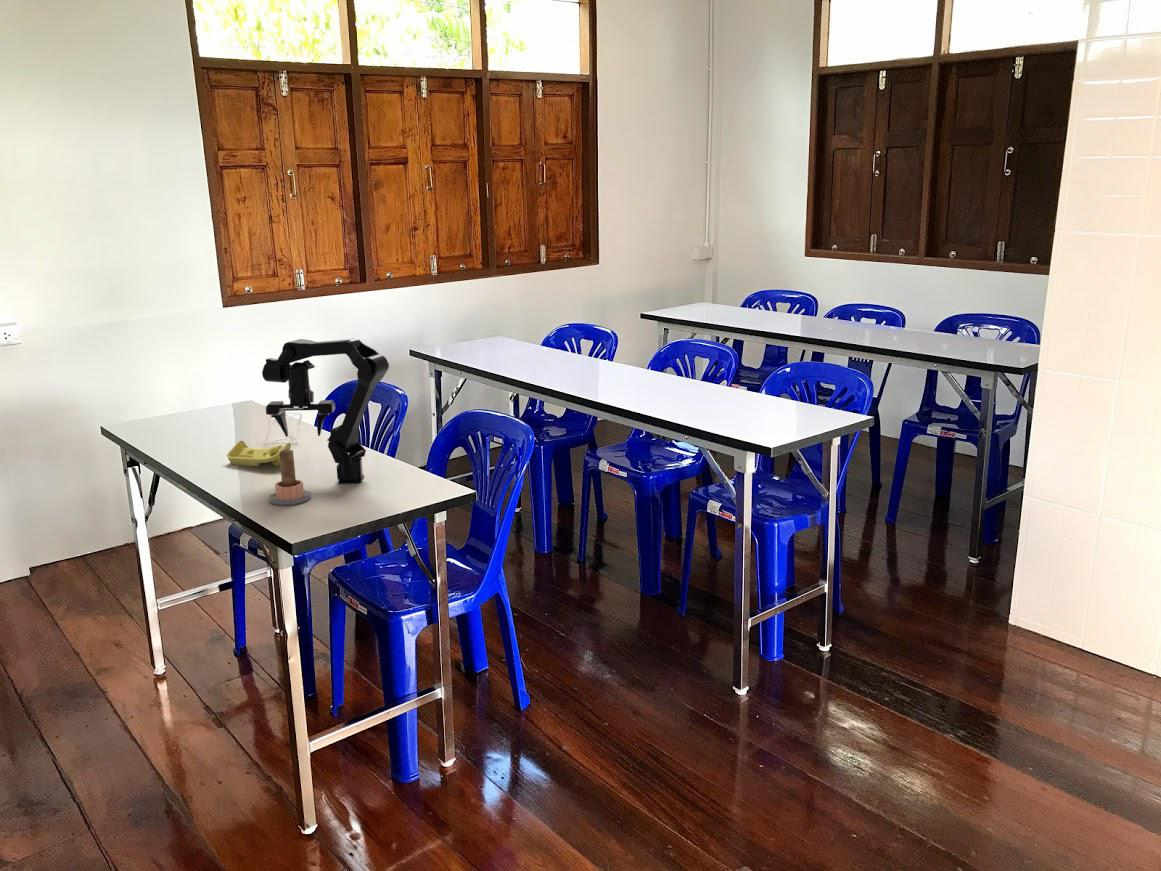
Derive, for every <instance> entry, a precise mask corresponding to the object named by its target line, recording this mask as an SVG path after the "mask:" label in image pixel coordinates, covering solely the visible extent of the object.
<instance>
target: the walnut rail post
mask: <svg viewBox="0 0 1161 871" xmlns="http://www.w3.org/2000/svg"><path fill="white" fill-rule="evenodd" d="M279 455H280V465H279V466H280V476H281V481H282V487H291V486H296V480H297V479H296V469H295V468H296V467H295V458H294V456H295V455H294V450H293V449H290V450H282V451H280V452H279Z"/></svg>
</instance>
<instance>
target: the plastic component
mask: <svg viewBox="0 0 1161 871" xmlns="http://www.w3.org/2000/svg"><path fill="white" fill-rule="evenodd" d="M286 443H287V444H284V445H282V444H281V445H280V444H279V445H274V446H271V447H269V448H255V447H253V448H251V447H248V445H247V444H246V443H245V442H244V440H238V441H237V442H236V443H235V445H233V447H232V448H231V449H230V450H229V451H228V452H227V454H226V457H227V459H228V461H229V462H230V464H231V465H233V466H246V467H248V466H249V467H258V466H260V465H261V464H264V463H272V465H273V466H274V467H279V466H280V455H279V452H280V451H282V450H291V446H292V444H291V442H286Z"/></svg>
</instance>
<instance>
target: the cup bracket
mask: <svg viewBox="0 0 1161 871" xmlns="http://www.w3.org/2000/svg"><path fill="white" fill-rule="evenodd" d="M274 490H275V491H274V492H273V493H272V494H269V497H268V502H269V503H270V504H271V505H274V506H278V507H279V506H282V507H287V506H297V505H301V504H302V505H303V504H304V503H308V502H309V501H310V500H311V499H312V493H311V492H310V491H308V490H306V489H304V481H302V480H300V479H296V486H291V487H282V480H280V481H277V482H276V483H275V484H274Z"/></svg>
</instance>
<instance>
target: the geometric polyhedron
mask: <svg viewBox="0 0 1161 871" xmlns="http://www.w3.org/2000/svg"><path fill="white" fill-rule="evenodd" d="M285 415H289V416H285V417H286V419H287V418H291V417H296V416H299V418H298V420H297V422H296V426H295V428H294V430H293V432H292V434H291V433H290V432H289V431H288V437H286V436H285V437H283V438H277V439H274V440H271V441H268V439H269V436H270V433H271V431H272V428H273V426H274V424H275V423H276V424H277V425H278V426H279V427H280V428H281V426H280V425H279V423H278V422H277V421H276V419H275V418H274V417H271V415H269V420H268V423H267V424H268V426H267V431H266V436H265V441H264V443H265V444H270V443H272V444H273V445H274V444H277V445H278V444H279V445H280V444H281V445H282V444H283V445H286V444H287V443H288V442H275V441H280V440H283V439H288V438H290V439H291V440H292V442H294V443H291V442H290V443H291V445H297V444H298V440H299V439H298V438H299V433H300V428H301V427H300V426H301V421H302V416H303V414H302V413H300V412H298V413H297V412H285ZM271 418H272V419H273V422H272V425H271V427H270V423H271ZM298 424H299V425H298ZM297 427H298V430H297V437H296V440H295V438H294V437H293V436H294V434H295V433H296V432H295V431H296V429H297ZM269 428H270V430H269Z"/></svg>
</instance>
